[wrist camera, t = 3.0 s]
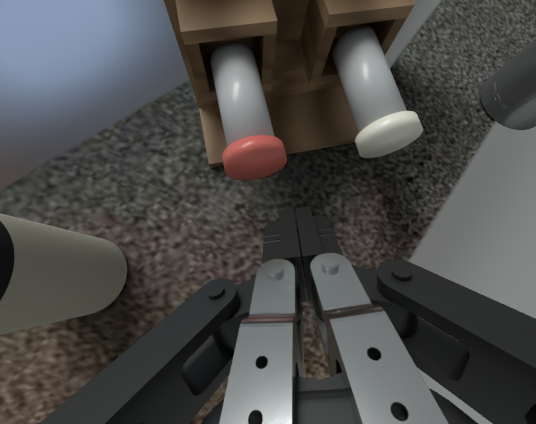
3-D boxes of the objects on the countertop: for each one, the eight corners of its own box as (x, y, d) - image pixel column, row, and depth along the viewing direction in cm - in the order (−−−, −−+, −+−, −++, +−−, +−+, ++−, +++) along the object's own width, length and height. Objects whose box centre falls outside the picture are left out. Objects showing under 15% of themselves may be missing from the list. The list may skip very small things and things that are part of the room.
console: (340, 79, 35) (426, -119, 17) (361, 141, 32) (486, -16, 15) (198, 100, 33) (134, -102, 15) (210, 167, 30) (150, 21, 13)
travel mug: (107, 224, 28) (-138, 138, 10) (142, 283, 26) (-74, 296, 9) (38, 266, 26) (-382, 248, 9) (71, 331, 25) (-351, 458, 8)
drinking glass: (404, 67, 36) (505, -75, 21) (372, 90, 34) (456, -45, 20) (371, 37, 37) (447, -116, 22) (339, 58, 36) (397, -90, 21)
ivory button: (366, 64, 25) (391, 16, 20) (399, 152, 22) (437, 120, 18) (320, 71, 24) (336, 22, 20) (350, 161, 22) (376, 131, 17)
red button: (259, 79, 24) (261, 31, 19) (283, 174, 21) (291, 145, 17) (210, 86, 23) (198, 39, 18) (228, 184, 21) (220, 157, 16)
